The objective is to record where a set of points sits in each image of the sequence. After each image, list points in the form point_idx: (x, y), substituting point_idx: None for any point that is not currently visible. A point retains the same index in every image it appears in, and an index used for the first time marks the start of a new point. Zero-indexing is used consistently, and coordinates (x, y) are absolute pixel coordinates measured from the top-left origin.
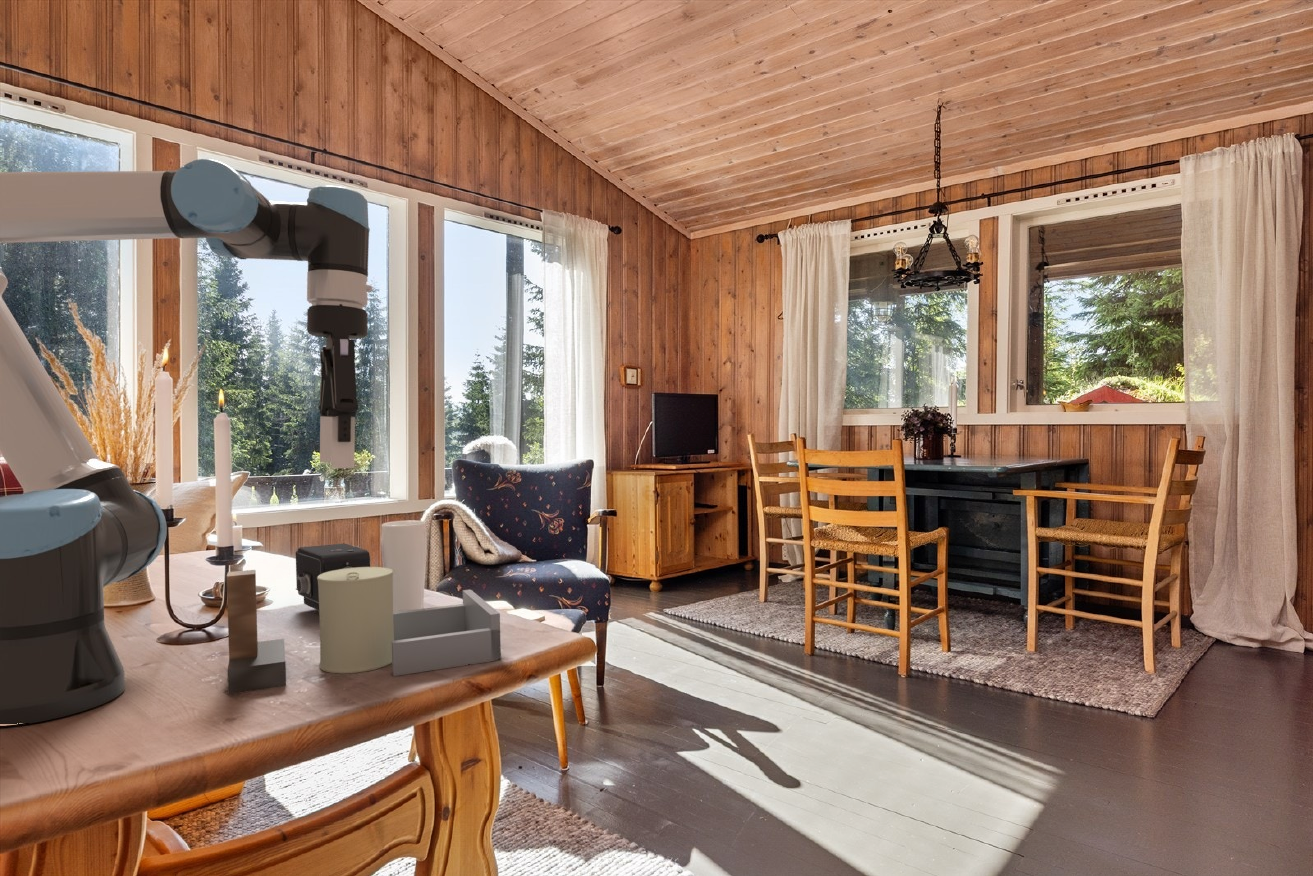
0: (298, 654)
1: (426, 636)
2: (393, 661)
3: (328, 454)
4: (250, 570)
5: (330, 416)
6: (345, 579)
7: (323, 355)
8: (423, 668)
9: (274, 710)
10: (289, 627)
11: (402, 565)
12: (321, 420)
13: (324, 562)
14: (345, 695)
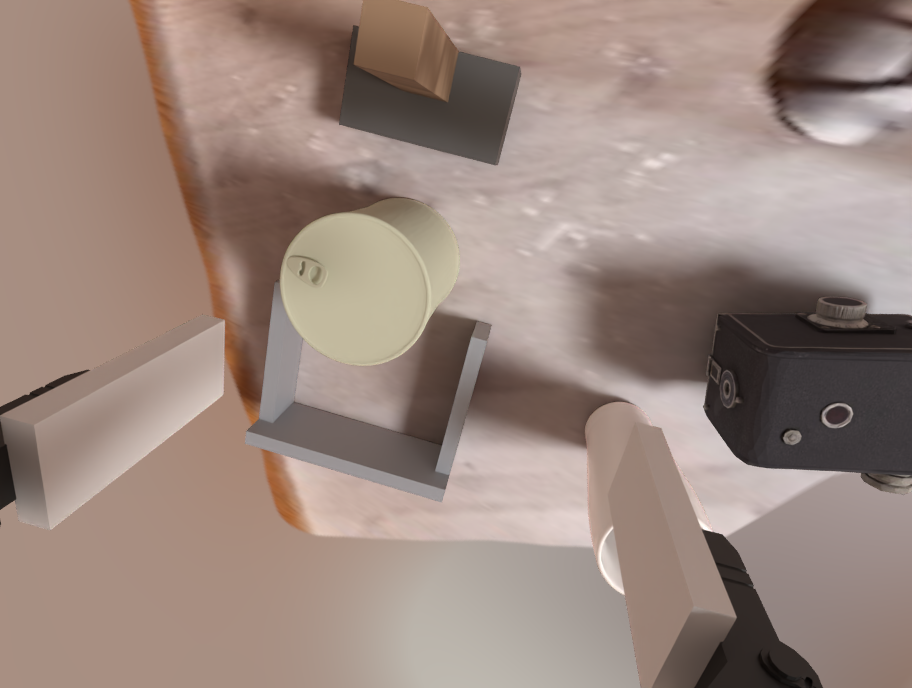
0: (521, 196)
1: (283, 336)
2: None
3: (631, 474)
4: (410, 65)
5: (705, 668)
6: (308, 254)
7: None
8: None
9: (250, 81)
10: (743, 243)
11: (594, 469)
12: (684, 584)
13: (756, 351)
14: (256, 185)
